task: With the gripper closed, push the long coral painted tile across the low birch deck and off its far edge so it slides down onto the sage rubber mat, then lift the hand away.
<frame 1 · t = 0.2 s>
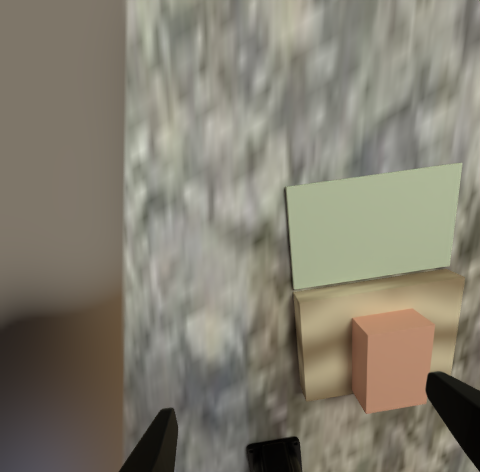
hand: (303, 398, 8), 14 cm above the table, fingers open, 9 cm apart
birch deck: (368, 330, 25), on the table
coral tile: (380, 351, 23), point 2 cm above the table, touching birch deck
sage mat: (371, 228, 22), on the table
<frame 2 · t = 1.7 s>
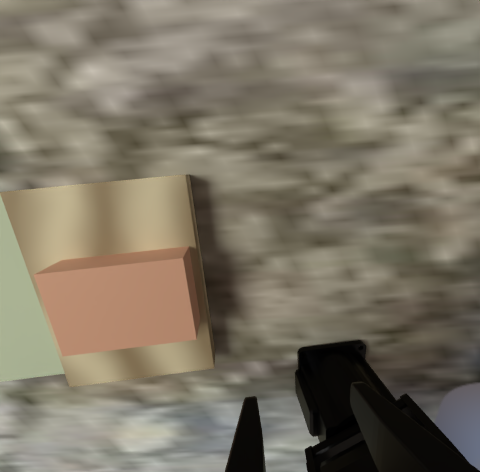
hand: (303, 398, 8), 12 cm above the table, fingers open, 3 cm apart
birch deck: (131, 280, 19), on the table
coral tile: (134, 290, 17), point 2 cm above the table, touching birch deck
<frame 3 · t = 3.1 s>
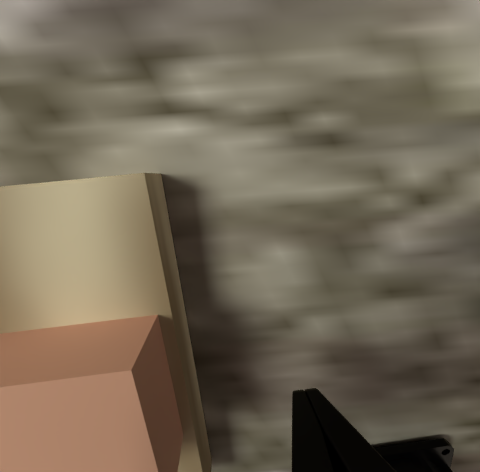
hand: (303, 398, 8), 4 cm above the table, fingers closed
birch deck: (64, 359, 11), on the table
coral tile: (56, 394, 9), point 2 cm above the table, touching birch deck
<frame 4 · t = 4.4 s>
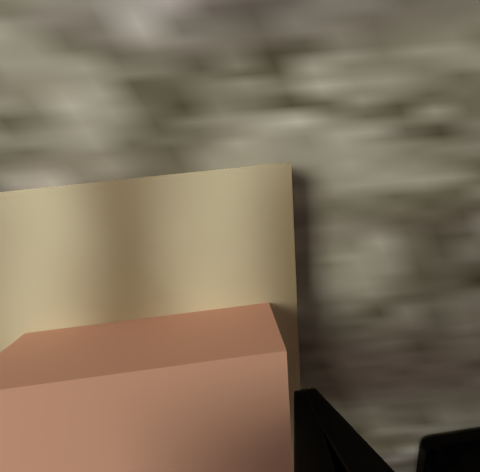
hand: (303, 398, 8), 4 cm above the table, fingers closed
birch deck: (166, 347, 11), on the table
coral tile: (164, 381, 9), point 2 cm above the table, touching birch deck, gripper
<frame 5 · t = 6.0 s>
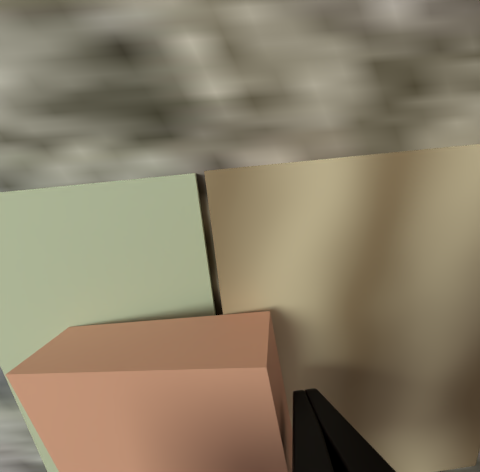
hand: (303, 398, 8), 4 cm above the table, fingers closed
birch deck: (347, 323, 12), on the table
coral tile: (178, 379, 10), point 1 cm above the table, tilted 13°, touching gripper
sage mat: (117, 352, 11), on the table
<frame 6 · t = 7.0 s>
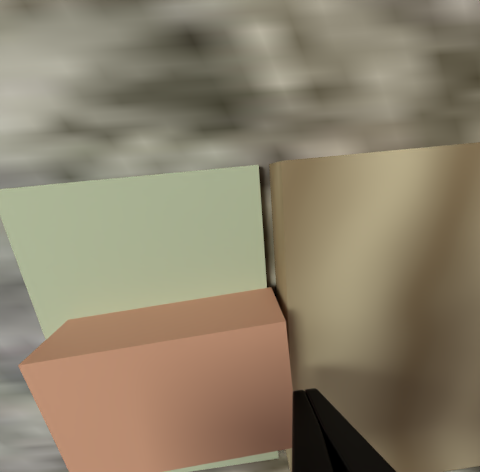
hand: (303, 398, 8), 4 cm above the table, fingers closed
birch deck: (395, 317, 12), on the table
coral tile: (184, 358, 11), resting on sage mat
sage mat: (167, 346, 11), on the table
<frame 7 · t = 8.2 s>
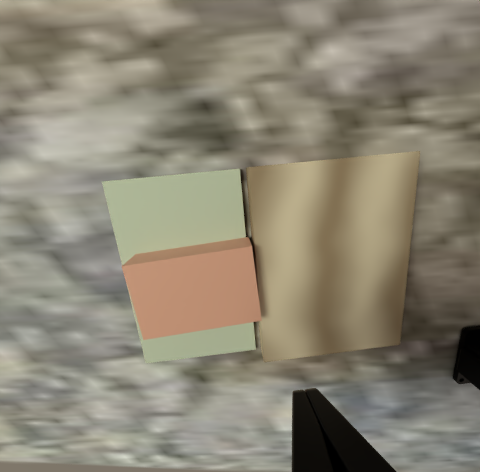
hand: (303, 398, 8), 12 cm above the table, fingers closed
birch deck: (323, 258, 20), on the table
coral tile: (199, 279, 19), resting on sage mat
sage mat: (188, 273, 19), on the table
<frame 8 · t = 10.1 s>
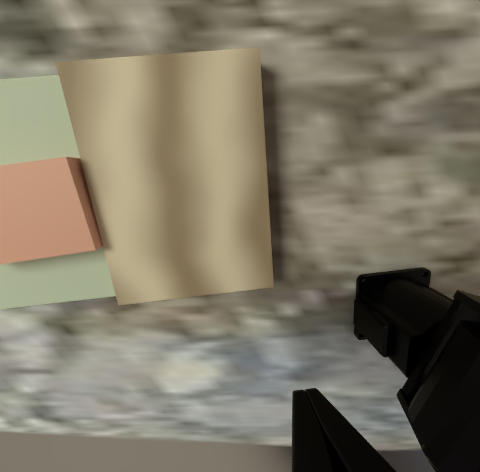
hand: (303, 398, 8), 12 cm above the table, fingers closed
birch deck: (185, 189, 18), on the table
coral tile: (40, 210, 17), resting on sage mat
sage mat: (30, 204, 17), on the table
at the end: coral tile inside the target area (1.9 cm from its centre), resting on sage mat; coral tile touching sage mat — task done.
